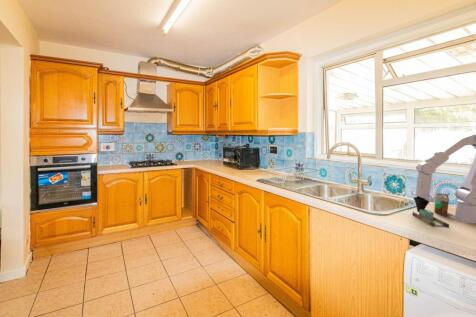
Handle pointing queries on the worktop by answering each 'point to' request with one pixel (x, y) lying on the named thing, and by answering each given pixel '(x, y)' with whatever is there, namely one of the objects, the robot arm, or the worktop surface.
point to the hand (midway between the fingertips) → (420, 212)
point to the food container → (441, 203)
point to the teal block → (426, 214)
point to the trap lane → (432, 221)
